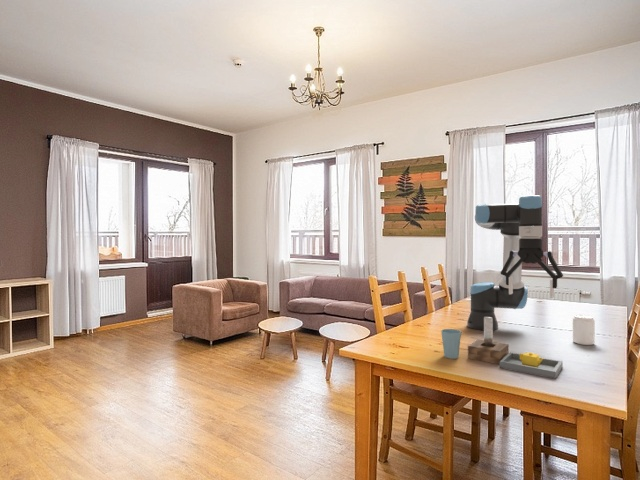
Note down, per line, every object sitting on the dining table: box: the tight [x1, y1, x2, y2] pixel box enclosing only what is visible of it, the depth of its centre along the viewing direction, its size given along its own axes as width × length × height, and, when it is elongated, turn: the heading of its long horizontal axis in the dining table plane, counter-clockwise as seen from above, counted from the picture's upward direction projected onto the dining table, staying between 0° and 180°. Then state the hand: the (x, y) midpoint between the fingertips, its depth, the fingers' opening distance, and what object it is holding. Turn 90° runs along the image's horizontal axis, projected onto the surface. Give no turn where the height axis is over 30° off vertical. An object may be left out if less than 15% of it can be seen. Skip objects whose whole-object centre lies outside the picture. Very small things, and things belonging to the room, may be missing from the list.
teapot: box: [519, 352, 544, 367], centre depth 145 cm, size 8×6×5 cm
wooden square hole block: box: [467, 338, 510, 365], centre depth 157 cm, size 12×12×5 cm
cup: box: [440, 328, 462, 360], centre depth 159 cm, size 8×8×10 cm
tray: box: [499, 351, 564, 380], centre depth 145 cm, size 18×14×2 cm
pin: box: [483, 317, 494, 347], centre depth 157 cm, size 3×3×14 cm
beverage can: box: [572, 314, 596, 346], centre depth 175 cm, size 8×8×12 cm
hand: (530, 295), depth 144 cm, fingers open, 13 cm apart
